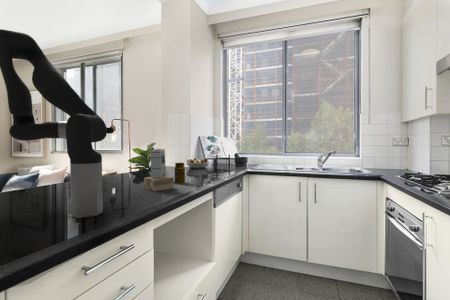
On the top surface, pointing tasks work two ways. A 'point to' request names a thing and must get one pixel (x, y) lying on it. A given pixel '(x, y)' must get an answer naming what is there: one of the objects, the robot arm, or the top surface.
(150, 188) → the wooden block
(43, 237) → the top surface
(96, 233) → the top surface
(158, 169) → the syrup box
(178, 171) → the condiment
